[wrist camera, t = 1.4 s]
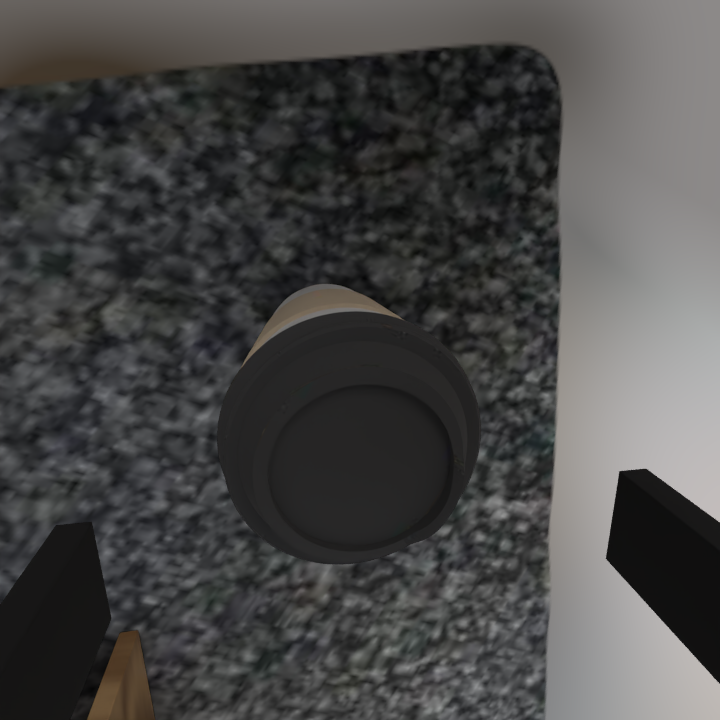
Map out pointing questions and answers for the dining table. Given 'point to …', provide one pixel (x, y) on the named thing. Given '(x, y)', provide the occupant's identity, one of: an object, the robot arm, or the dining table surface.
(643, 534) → the robot arm
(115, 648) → the board
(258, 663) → the dining table surface
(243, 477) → the coffee cup
